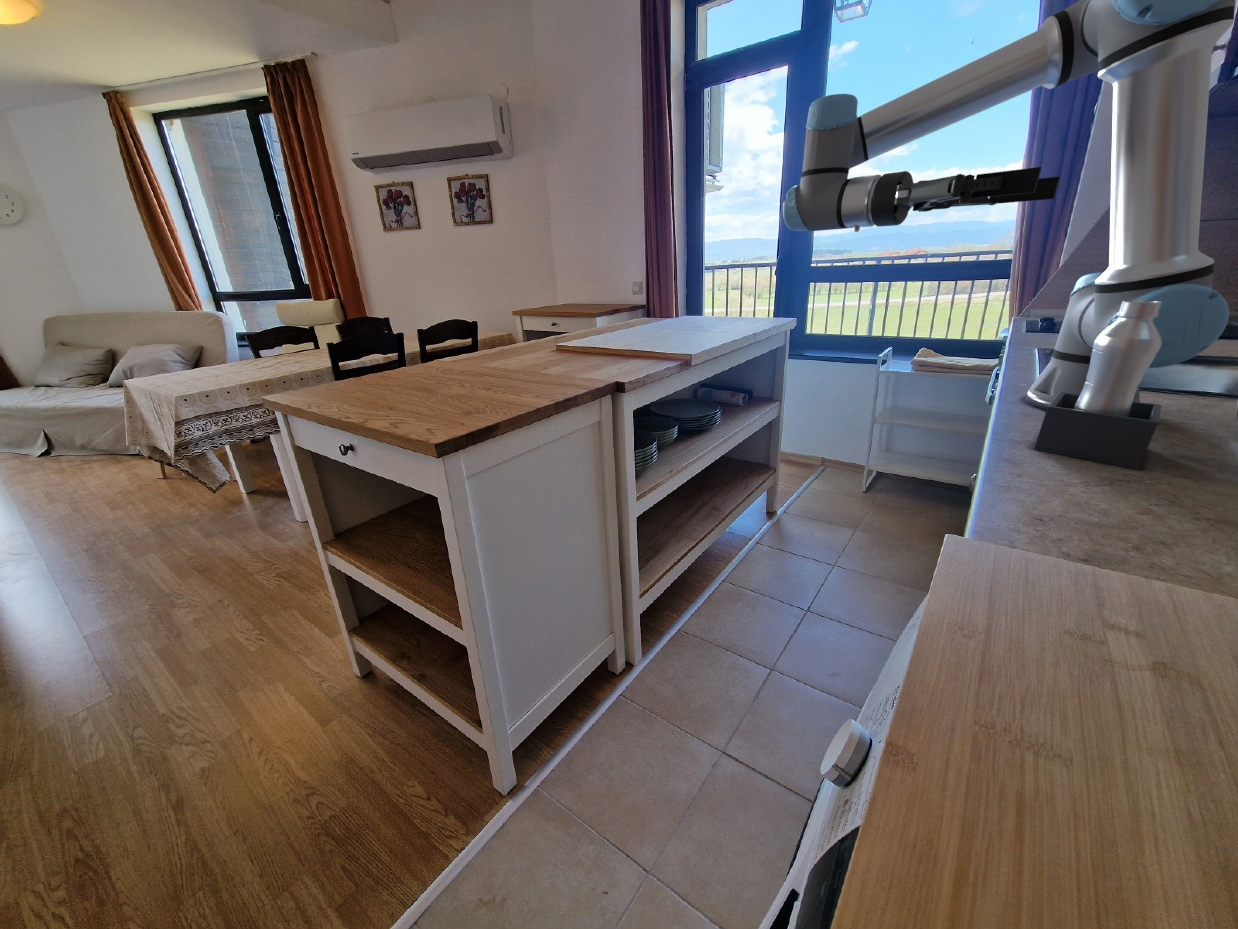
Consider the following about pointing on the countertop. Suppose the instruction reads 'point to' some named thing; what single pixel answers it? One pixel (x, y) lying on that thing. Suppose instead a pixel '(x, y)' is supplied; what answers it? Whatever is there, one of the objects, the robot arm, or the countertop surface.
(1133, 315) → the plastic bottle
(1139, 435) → the bin
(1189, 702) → the countertop surface
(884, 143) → the robot arm
